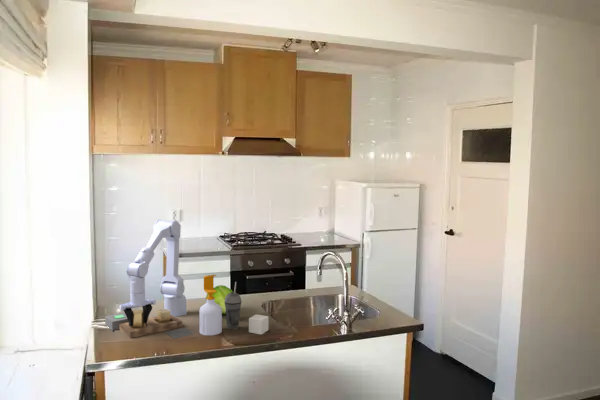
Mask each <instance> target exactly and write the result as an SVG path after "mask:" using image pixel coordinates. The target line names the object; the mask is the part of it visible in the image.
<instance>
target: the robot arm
mask: <svg viewBox="0 0 600 400" xmlns="http://www.w3.org/2000/svg"><path fill="white" fill-rule="evenodd" d="M152 227H153V228H152V229H153V233H152V234H151V236H150V239H149V241H148V242H147V245H146V246H144V247H142V248H141V250H140V251H139V253H138V254H137V256H136V257H135V259H134V261H133V262H131V263H129V264H128V265H127V269H126V275H127V277H128V281H129V293H130V295H129V299H130V301H129V302H126V303H122V304H119V306H118V307H119V308H118V309H119V311H122V312H123V313H125V314H126V316H127V319H128V322H129V326H133V311H134V310H133V309H136V308H142V310H144V312H145V319H144V323H145V324H146V323H147V320H148V318H150V313H151V311H152V310H153V306H154V305H157V303H156V302H157V300H156V299H154V298H151V299H146V282H145V281H146V278H145V277H146V276H147V274H148V273H149V266H150V263H151V262H152V260H153V258H154V257H155V252H154V251H155V250H156V249H157V247H158V246H159V244H160V243H161V241H162V240H163V239H164V240H166V241H167V242H166V265H165V266H166V267H165V268H166V269H165V276H163V277H162V278H161V281H160V285H159V292H160V294H161V295H162V297H163V304H164V305H163V306H164V307H163V309H167V310H169V311H170V314H171V315H173V316H174V317H176V318H177V317H181V316H184V315H185V316H187V297H186V296H185V294H184V293H185V289H186V288H185V284H184V278H182V277H181V275H179V262H180V261H179V260H180V259H179V257H180V256H179V255H180V238H181V229H182V227H181V223H179V221H178V220H165V219H164V220H163V219H157V220H156V221H155V223H154V225H153V226H152ZM152 305H153V306H152Z"/></svg>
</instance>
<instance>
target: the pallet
mask: <svg viewBox="0 0 600 400" xmlns="http://www.w3.org/2000/svg"><path fill="white" fill-rule="evenodd" d="M119 328H120V329H119V331H121V333H122V334H124V335H126V336H127V337H128V338H129V339H132V338H137V337H142V336H146V335H147V336H148V335H151V334H156V333H160V332H161V333H162V332H167V331H171V330H176V329H180V328H183V321H182V320H181V319H179V318H177V317H174V316H173V315H171V314H170V322H165V323H160V324H159V323H158V322H157V316H154V317H148V320H147V323H146V324H145V327H141V328H136V329H133V328H132V326H129V322H127V323H122V324H119Z"/></svg>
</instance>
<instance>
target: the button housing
mask: <svg viewBox="0 0 600 400" xmlns="http://www.w3.org/2000/svg"><path fill="white" fill-rule="evenodd" d="M117 315H123V316H125V318H120V319H115V318H114V316H117ZM127 322H128V319H127V316H126V314H125V312H120V313H115V314H110V315H105V317H104V323H105V324H106V326H105V327H107V326H108V327H109V328H110V329H109V328H108V327H107V328H108V329H109V330H110V331H111V332H115V330H120V328H119V324H122V323H127ZM105 324H104V325H105Z"/></svg>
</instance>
